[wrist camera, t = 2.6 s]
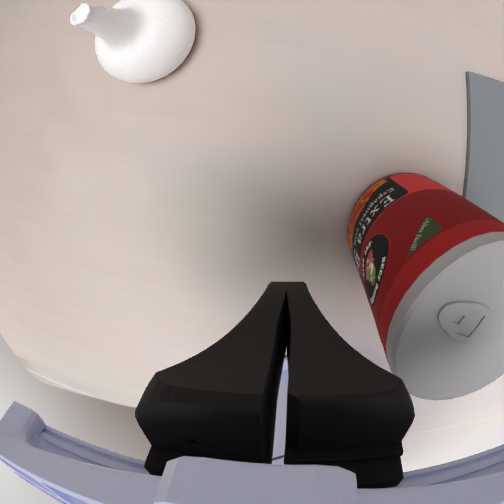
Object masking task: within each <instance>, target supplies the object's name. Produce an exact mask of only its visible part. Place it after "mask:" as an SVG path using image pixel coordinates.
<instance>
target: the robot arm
mask: <svg viewBox="0 0 504 504" xmlns="http://www.w3.org/2000/svg"><path fill="white" fill-rule="evenodd" d="M286 346H287V358H285V352H286ZM135 417H136V419H137V422H138V424H139V426H140V427H141V429H142V431H143V432H144V434H145V435H146V437H147V438H148V440H149V442H150V443H151V445H152V446H151V449H150V451H149V454H148V456H147V459H146V461H142V460H139V459H135V458H132V457H129V456H125V455H122V454H119V453H116V452H113V451H109V450H107V449H104V448H101V447H98V446H95V445H92V444H90V443H87V442H84V441H82V440H79V439H77V438H74V437H72V436H70V435H67V434H65V433H63V432H60V431H58V430H55V429H53V428H51V427H49V426H47V425H46V424H45V422H44V421H43V420H42V418H41V417H40V416H39V415H38V414H37V413H36V412H35V411H33V410H32V409H30V408H28V407H26V406H24V405H22V404H20V403H18V402H16V401H14V402H13V403H12V405H11V406H10V408H9V409H8V410H7V412H6V413H5V415H4V416H3V418H2V419H1V420H0V460H1V461H2V462H4V463H5V464H6V465H7V466H8V467H9V468H10V469H12V470H13V471H14V472H15V473H16V474H17V475H19V476H20V477H21V478H22V479H24V480H25V481H27V482H28V483H30V484H31V485H33V486H35V487H36V488H37V489H39V490H41V491H42V492H44V493H45V494H47V495H49V496H51V497H52V498H54V499H56V500H57V501H59V502H61V503H63V504H504V444H503V445H501V446H498V447H495V448H493V449H490V450H487V451H484V452H481V453H478V454H475V455H472V456H469V457H466V458H463V459H459V460H456V461H452V462H449V463H445V464H441V465H437V466H433V467H428V468H424V469H419V470H414V471H409V472H404V473H403V470H402V464H401V458H400V456H401V455H402V454H403V447H402V442H401V441H402V439H403V438H404V436H405V434H406V433H407V431H408V429H409V428H410V426H411V424H412V422H413V419H414V417H415V413H414V407H413V403H412V400H411V397H410V395H409V393H408V390H407V388H406V386H405V384H404V382H403V380H402V379H401V378H399V377H398V376H396V375H394V374H392V373H390V372H388V371H386V370H384V369H382V368H380V367H379V366H377V365H376V364H374V363H373V362H371V361H369V360H368V359H366V358H365V357H364V356H362V355H361V354H360V353H359V352H357V351H356V350H355V349H354V348H352V347H351V346H350V345H349V344H348V343H347V342H346V341H345V340H344V339H343V338H342V337H341V336H340V335H339V334H338V333H337V332H336V331H335V330H334V329H333V327H332V326H331V325H330V324H329V323H328V321H327V320H326V319H325V317H324V316H323V314H322V313H321V312H320V310H319V308H318V307H317V305H316V304H315V302H314V300H313V299H312V297H311V295H310V293H309V291H308V288H307V286H306V284H305V283H304V282H271V283H270V284H269V285H268V287H267V288H266V290H265V292H264V293H263V295H262V296H261V297H260V299H259V300H258V302H257V303H256V304H255V305H254V307H253V308H252V309H251V310H250V312H249V313H248V314H247V315H246V316H245V317H244V318H243V319H242V320H241V321H240V322H239V323H238V324H237V325H236V326H235V327H234V328H233V329H232V330H231V331H230V332H229V333H228V334H226V335H225V336H224V337H223V338H221V339H220V340H219V341H217V342H216V343H214V344H213V345H212V346H210V347H209V348H207V349H206V350H204V351H202V352H200V353H199V354H197V355H195V356H193V357H191V358H189V359H187V360H185V361H183V362H181V363H179V364H177V365H174V366H172V367H169V368H167V369H164V370H162V371H159V372H156V373H155V375H154V376H153V378H152V379H151V381H150V382H149V384H148V386H147V387H146V389H145V391H144V393H143V395H142V397H141V399H140V402H139V404H138V406H137V408H136V411H135Z"/></svg>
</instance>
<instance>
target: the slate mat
mask: <svg viewBox="0 0 504 504" xmlns="http://www.w3.org/2000/svg"><path fill="white" fill-rule="evenodd" d="M466 81H467V103H468V135H467V158H466V171H465V182H464V191H463V198H465V199H467V200H468V201H470V202H472V203H473V204H475V205H477V206H478V207H480V208H481V209H483V210H485V211H486V212H488V213H489V214H491V215H492V216H494V217H496V218H497V219H499V220H500V221H502V222H503V223H504V83H503V82H501V81H498V80H495V79H492V78H489V77H485V76H482V75H479V74H475V73H472V72H466Z"/></svg>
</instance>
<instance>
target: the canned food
mask: <svg viewBox="0 0 504 504" xmlns="http://www.w3.org/2000/svg"><path fill="white" fill-rule="evenodd" d="M348 232H349V244H350V249H351V253H352V255H353V258H354V261H355V264H356V266H357V269H358V272H359V275H360V278H361V280H362V283H363V286H364V289H365V292H366V295H367V298H368V301H369V304H370V307H371V310H372V313H373V317H374V320H375V323H376V326H377V329H378V333H379V336H380V339H381V342H382V345H383V347H384V351H385V354H386V358H387V361H388V363H389V366H390V368H391V371H392V372H393V374H394V375H396V376H398V377H399V378H401V379H402V380H403V382H404V384H405V386H406V388H407V390H408V393H410V394H411V395H413V396H416V397H419V398H422V399H428V400H446V399H452V398H456V397H461V396H464V395H467V394H469V393H472V392H475V391H477V390H479V389H481V388H483V387H484V386H486V385H488V384H490V383H491V382H493V381H494V380H496V379H497V378H499V377H500V376H501V375H503V374H504V223H503V222H502V221H500V220H499V219H497V218H496V217H494V216H492V215H491V214H489V213H488V212H486V211H485V210H483V209H481V208H480V207H478V206H477V205H475V204H473V203H472V202H470V201H468V200H467V199H465V198H463V197H462V196H460V195H458V194H457V193H455V192H453V191H451V190H450V189H448V188H446V187H444V186H442V185H440V184H439V183H437V182H435V181H433V180H431V179H429V178H427V177H425V176H421V175H417V174H404V173H402V174H397V175H392V176H389V177H387V178H384V179H382V180H380V181H378V182H376V183H375V184H373V185H372V186H371V187H369V188H368V189H367V190H366V191H365V192H364V193H363V195H362V196H361V197H360V199H359V200H358V202H357V204H356V205H355V208H354V210H353V213H352V215H351V218H350V224H349V229H348Z"/></svg>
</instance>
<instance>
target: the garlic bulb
mask: <svg viewBox="0 0 504 504" xmlns="http://www.w3.org/2000/svg"><path fill="white" fill-rule="evenodd" d="M80 5H81V6H80V7H79V8H78V9H77V10H76V12H74V13H72V14H71V17H70V22H71V24H73V25H80V26H81V27H82V28H84V29H86V30H87V31H89V32H91V33H93V34H94V35H96V37H95V50H96V55H97V58H98V60H99V62H100V64H101V66H102V67H103V68H104V69H105V70H106V71H107V72H108V73H109V74H110V75H112V76H113V77H115V78H116V79H119V80H122V81H125V82H130V83H147V82H152V81H155V80H158V79H160V78H163V77H165V76H166V75H168V74H170V73H171V72H172V71H174V70H175V69H176V68H177V67H178V66H179V65H180V64H181V63H182V62H183V61H184V59H185V58H186V57H187V55H188V53H189V52H190V50H191V48H192V46H193V42H194V39H195V28H196V26H195V21H194V17H193V14H192V12H191V11H190V9H189V7H188V6H187V5H186V4H185V3H184V2H183V1H182V0H121V1H119V2H118V3H117V4H115V5H114V6H113V7H112V8H108V7H102V6H93V5H88V4H87V3H86V4H80Z"/></svg>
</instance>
